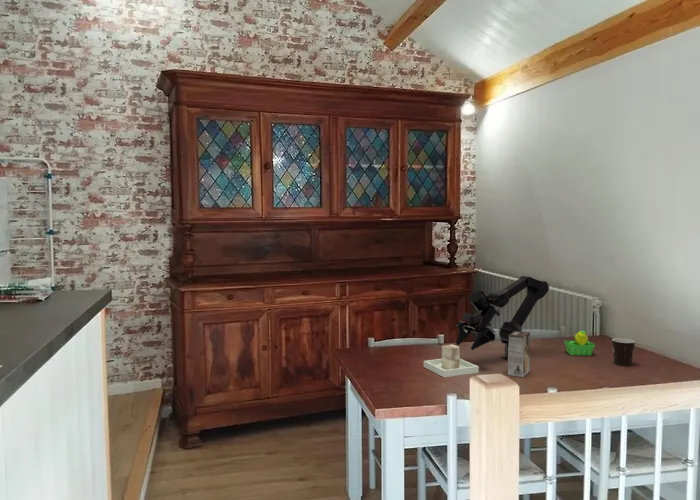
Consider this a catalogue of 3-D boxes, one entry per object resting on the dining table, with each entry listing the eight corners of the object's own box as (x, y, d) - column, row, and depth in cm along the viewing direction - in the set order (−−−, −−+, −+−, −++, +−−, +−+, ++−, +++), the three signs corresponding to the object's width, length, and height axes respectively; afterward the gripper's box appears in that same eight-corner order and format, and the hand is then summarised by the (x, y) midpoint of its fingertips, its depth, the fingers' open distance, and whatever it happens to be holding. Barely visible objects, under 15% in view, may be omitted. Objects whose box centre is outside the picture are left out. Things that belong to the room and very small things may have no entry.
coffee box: (513, 369, 225) (514, 330, 223) (529, 371, 221) (530, 332, 220) (507, 375, 217) (507, 334, 216) (523, 377, 213) (524, 336, 212)
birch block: (451, 365, 228) (451, 344, 227) (459, 368, 224) (459, 347, 223) (441, 367, 226) (441, 345, 225) (449, 370, 221) (449, 348, 221)
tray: (478, 372, 220) (478, 366, 220) (444, 377, 214) (444, 371, 214) (456, 362, 235) (456, 356, 235) (423, 366, 229) (423, 360, 229)
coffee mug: (615, 360, 237) (616, 337, 236) (637, 363, 231) (638, 340, 230) (605, 365, 229) (605, 341, 228) (627, 369, 223) (628, 345, 222)
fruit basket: (589, 352, 251) (589, 327, 250) (596, 357, 242) (596, 331, 242) (563, 351, 252) (564, 327, 252) (569, 356, 244) (569, 331, 243)
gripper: (459, 302, 237) (438, 330, 232) (489, 308, 221) (468, 339, 216) (473, 318, 241) (453, 346, 237) (504, 326, 225) (483, 356, 220)
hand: (464, 346), depth 227 cm, fingers open, 9 cm apart
